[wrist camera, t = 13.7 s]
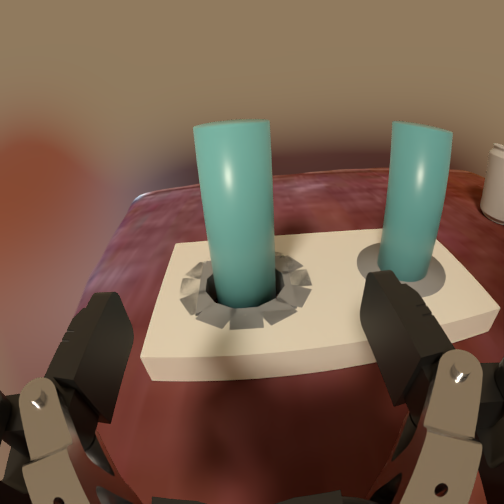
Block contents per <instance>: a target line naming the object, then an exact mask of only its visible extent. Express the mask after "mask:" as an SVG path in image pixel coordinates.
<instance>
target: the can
mask: <svg viewBox="0 0 504 504" xmlns="http://www.w3.org/2000/svg"><path fill="white" fill-rule="evenodd" d="M493 145H494V148H493V149H491V150H490V151H489V157H488V164H487V171H486V177H485V183H484V188H483V194H482V199H481V203H480V208H481V210H482V211H483V214H484V215H485V216H486V217H487V218H488V219H490V220H492V221H494V222H496V223H498V224H501V225H504V145H500V144H495V143H494V144H493Z"/></svg>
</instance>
